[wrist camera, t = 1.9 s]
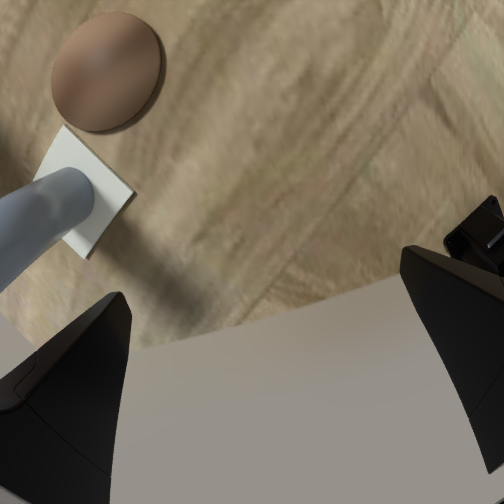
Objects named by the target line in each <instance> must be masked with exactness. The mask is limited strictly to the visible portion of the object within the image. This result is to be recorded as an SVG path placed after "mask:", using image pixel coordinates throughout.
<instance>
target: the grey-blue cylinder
mask: <svg viewBox="0 0 504 504" xmlns="http://www.w3.org/2000/svg"><path fill="white" fill-rule="evenodd" d="M93 206H94V192H93V188H92V185H91V183H90V181H89V179H88V178H87V176H86V175H85V174H84V173H83V172H81V171H80V170H78V169H76V168H73V167H65V168H62V169H60V170H57V171H55V172H53V173H51V174H48V175H46V176H44V177H42V178H40V179H38V180H35V181H33V182H31V183H29V184H27V185H25V186H23V187H21V188H19V189H17V190H15V191H13V192H11V193H9V194H7V195H6V196H4V197H2V198H0V293H1V292H2V291H3V290H4V289H5V288H6V287H7V286H8V285H9V284H11V283H12V282H13V281H14V280H15V279H16V278H17V277H18V276H19V275H20V274H21V273H22V272H23V271H24V270H25V269H27V268H28V267H29V266H30V265H31V264H32V263H33V262H34V261H35V260H37V259H38V258H39V257H40V256H41V255H42V254H44V253H45V252H46V251H47V250H48V249H49V248H51V247H52V246H53V245H54V244H55V243H57V242H58V241H59V240H60V239H61V238H63V237H64V236H65V235H66V234H68V233H69V232H70V231H71V230H73V229H74V228H75V227H76V226H78V225H79V224H80V223H81V222H83V221H84V220H85V219H87V218H88V217H89V215H90V214H91V212H92V210H93Z"/></svg>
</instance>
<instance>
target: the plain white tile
mask: <svg viewBox="0 0 504 504" xmlns="http://www.w3.org/2000/svg"><path fill="white" fill-rule="evenodd" d="M65 167H73V168H76V169H78V170H80V171H81V172H83V173H84V174H85V175H86V176H87V178H88V179H89V181H90V183H91V185H92V188H93V192H94V206H93V210H92V212H91V214H90V215H89V217H88V218H87V219H85V220H84V221H83V222H81V223H80V224H79V225H78V226H76V227H75V228H74V229H73V230H71V231H70V232H69V233H68V234H66V235H65V236H64V237H63V238H62V239H63V240H64V241H65V242H66V243H67V244H68V245H69V246H71V247H72V248H73V249H74V250H75V251H76V252H77V253H78V254H79V255H80V256H81V257H82V258H83V259H85V258H86V256H87V255H88V253H89V252H90V251H91V249H92V248H93V246H94V245H95V243H96V242H97V240H98V239H99V238H100V236H101V235H102V233H103V232H104V231H105V229H106V228H107V226H108V225H109V224H110V222H111V221H112V220H113V218H114V217H115V216H116V214H117V213H118V212H119V210H120V209H121V208H122V206H123V205H124V204H125V203H126V201H127V200H128V199H129V197H130V196H131V195H132V194H133V192H134V190H133V189H132V188H131V187H130V186H128V185H127V184H126V183H125V182H124V181H123V180H122V179H121V178H120V177H119V176H118V175H117V174H116V173H115V172H114V171H113V170H112V169H111V168H110V167H109V166H108V165H107V164H105V163H104V162H103V161H102V160H101V159H100V158H99V157H98V156H97V155H96V154H95V153H94V152H93V151H92V150H91V149H90V148H89V147H88V146H87V145H86V144H85V143H84V142H83V141H82V140H81V139H80V138H79V137H78V136H77V135H76V134H75V133H74V132H73V131H72V130H71V129H70V128H69V127H68V126H67V125H66V124H64V125H63V126H62V128H61V129H60V131H59V133H58V134H57V136H56V138H55V140H54V141H53V143H52V145H51V147H50V148H49V150H48V152H47V154H46V156H45V158H44V160H43V162H42V164H41V165H40V167H39V169H38V171H37V173H36V176H35V178H34V180H33V181H35V180H38V179H40V178H42V177H44V176H46V175H48V174H51V173H53V172H55V171H57V170H60V169H62V168H65Z"/></svg>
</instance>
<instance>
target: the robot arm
mask: <svg viewBox="0 0 504 504" xmlns="http://www.w3.org/2000/svg"><path fill="white" fill-rule="evenodd" d="M492 200H493V202H492ZM449 240H451V241H450V242H449ZM448 242H449V243H448ZM443 243H444V245H445V247H446V249H447V251H448V253H449V255H450V257H451V258H450V257H447V256H445V255H442V254H439V253H436V252H433V251H431V250H428V249H425V248H422V247H419V246H416V245H411V246H405V247H404V248H403V249H402V254H401V262H400V275H401V278H402V280H403V282H404V284H405V286H406V289H407V291H408V293H409V295H410V298H411V300H412V302H413V305H414V307H415V309H416V311H417V313H418V315H419V317H420V319H421V321H422V322H423V324H424V326H425V328H426V330H427V332H428V333H429V335H430V337H431V339H432V341H433V343H434V345H435V347H436V349H437V351H438V353H439V355H440V357H441V359H442V361H443V363H444V365H445V367H446V369H447V371H448V373H449V375H450V378H451V380H452V382H453V384H454V386H455V388H456V391H457V393H458V395H459V397H460V400H461V402H462V404H463V407H464V409H465V411H466V414H467V416H468V418H469V422H470V424H471V427H472V429H473V432H474V434H475V437H476V440H477V442H478V445H479V448H480V451H481V454H482V456H483V459H484V462H485V465H486V468H487V471H488V473H489V474H491V473H493V472H494V471H496V470H497V469H499V468H500V467H502V466H503V465H504V217H503V214H502V211H501V208H500V205H499V203H498V200H497V198H496V197H495V196H493V195H490V196H489V197H488V198H487V199H486V200H485V201H484V202H483V203H482V204H481V205H480V206H479V207H478V208H477V209H476V210H474V211H473V212H472V213H471V214H470V215H469V216H468V217H467V218H466V219H465V220H464V221H463V222H462V223H460V224H459V225H458V226H457V227H456V228H455V229H454V230H453V231H452V232H450V233H449V234H448V235H447V236H446V237H445V238H444V242H443ZM131 324H132V313H131V310H130V308H129V306H128V304H127V301H126V299H125V297H124V295H123V293H122V292H111V293H109V294H107V295H106V296H105V297H103V298H102V299H101V300H99V301H98V302H97V303H95V304H94V305H93V306H92V307H90V308H89V309H88V310H86V311H85V312H84V313H83V314H81V315H80V316H79V317H77V318H76V319H75V320H74V321H72V322H71V323H70V324H69V325H67V326H66V327H65V328H64V329H62V330H61V331H60V332H59V333H57V334H56V335H55V336H54V337H52V338H51V339H50V340H49V341H48V342H46V343H45V344H44V345H43V346H41V347H40V348H39V349H38V351H36V352H34V353H33V354H32V355H31V356H29V357H28V358H27V359H26V360H25V361H23V362H22V363H21V364H20V365H18V366H17V367H16V368H14V369H13V370H12V371H11V372H9V373H8V374H7V375H6V376H4V377H3V378H1V379H0V504H110V487H111V473H112V461H113V453H114V444H115V436H116V428H117V421H118V413H119V407H120V401H121V394H122V388H123V383H124V378H125V372H126V366H127V361H128V355H129V344H130V334H131ZM495 504H504V498H502V499H501V500H500V501H498V502H496V503H495Z"/></svg>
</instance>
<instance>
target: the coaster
mask: <svg viewBox="0 0 504 504" xmlns="http://www.w3.org/2000/svg"><path fill="white" fill-rule="evenodd" d="M160 69H161V50H160V45H159V42H158V39H157V37H156V35H155V33H154V31H153V30H152V29H151V28H150V26H149V25H148V24H146V23H145V22H144V21H142V20H141V19H139V18H138V17H136V16H133V15H131V14H127V13H121V12H112V13H106V14H102V15H99V16H96V17H94V18H92V19H90V20H88V21H86V22H85V23H83V24H82V25H81V26H79V27H78V28H77V29H76V30H75V31H74V32H73V33H72V34H71V35H70V36H69V37H68V38H67V40H66V41H65V43H64V44H63V46H62V47H61V49H60V51H59V53H58V55H57V58H56V60H55V63H54V67H53V71H52V80H51V87H52V95H53V99H54V102H55V105H56V107H57V109H58V111H59V112H60V114H61V115H62V117H63V118H64V119H65V120H66V121H67V122H68V123H70V124H71V125H73V126H74V127H76V128H79V129H82V130H86V131H102V130H107V129H111V128H114V127H117V126H119V125H121V124H123V123H125V122H126V121H128V120H129V119H131V118H132V117H133V116H134V115H136V114H137V113H138V112H139V111H140V110H141V109H142V108H143V106H144V105H145V104H146V102H147V101H148V100H149V98H150V96H151V95H152V93H153V91H154V89H155V86H156V84H157V81H158V78H159V74H160Z"/></svg>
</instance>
